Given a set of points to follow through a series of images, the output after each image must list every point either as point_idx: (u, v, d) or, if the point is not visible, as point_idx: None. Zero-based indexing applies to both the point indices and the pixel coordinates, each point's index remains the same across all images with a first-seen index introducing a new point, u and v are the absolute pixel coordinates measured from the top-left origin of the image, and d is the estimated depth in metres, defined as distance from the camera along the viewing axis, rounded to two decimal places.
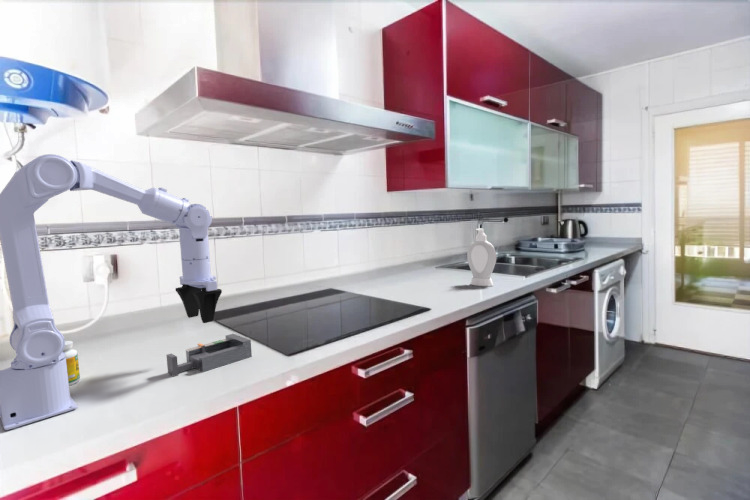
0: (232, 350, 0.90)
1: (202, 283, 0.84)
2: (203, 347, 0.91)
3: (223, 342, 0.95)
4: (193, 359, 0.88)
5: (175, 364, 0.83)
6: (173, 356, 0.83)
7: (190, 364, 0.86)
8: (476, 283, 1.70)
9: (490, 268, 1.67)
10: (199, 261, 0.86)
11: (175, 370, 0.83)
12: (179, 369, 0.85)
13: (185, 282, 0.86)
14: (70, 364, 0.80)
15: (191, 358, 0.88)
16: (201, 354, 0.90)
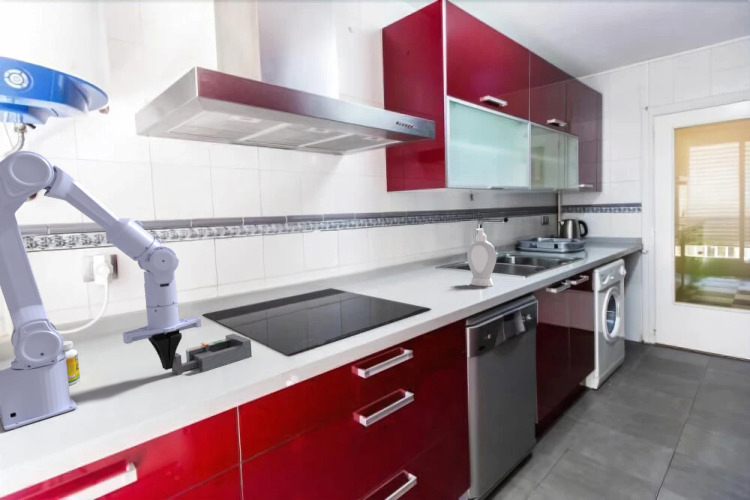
0: (232, 350, 0.90)
1: None
2: (207, 346, 0.91)
3: (223, 342, 0.95)
4: (197, 358, 0.88)
5: (179, 363, 0.84)
6: (177, 355, 0.84)
7: (194, 363, 0.87)
8: (476, 283, 1.70)
9: (490, 268, 1.67)
10: (146, 308, 0.80)
11: (179, 369, 0.84)
12: (183, 368, 0.85)
13: None
14: (70, 364, 0.80)
15: (195, 357, 0.89)
16: (205, 353, 0.90)
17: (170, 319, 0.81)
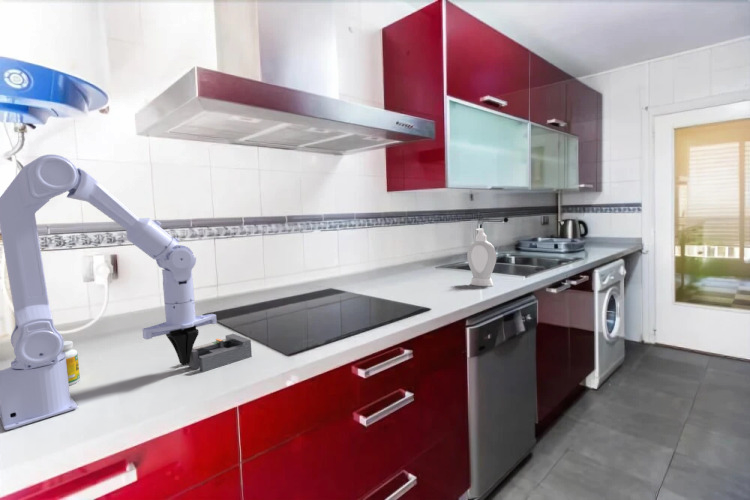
0: (232, 350, 0.90)
1: None
2: (221, 342, 0.94)
3: (223, 342, 0.95)
4: None
5: (196, 358, 0.86)
6: (194, 350, 0.87)
7: None
8: (476, 283, 1.70)
9: (490, 268, 1.67)
10: None
11: (196, 364, 0.86)
12: None
13: None
14: (70, 364, 0.80)
15: None
16: (219, 349, 0.93)
17: (188, 316, 0.83)
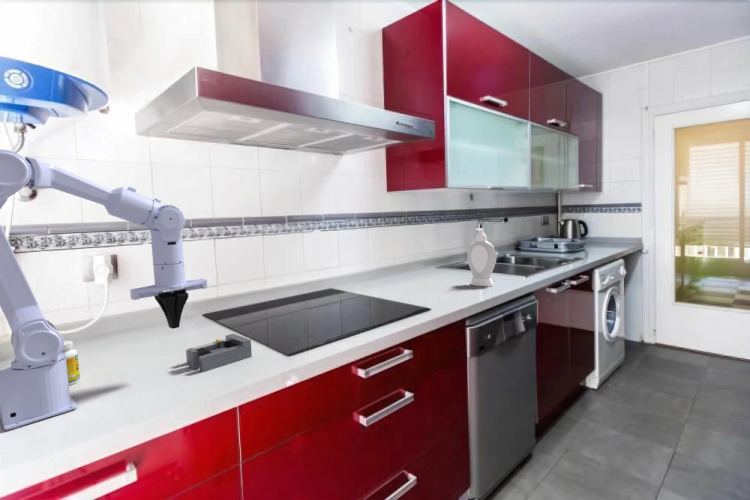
0: (232, 350, 0.90)
1: None
2: (221, 342, 0.94)
3: (223, 342, 0.95)
4: None
5: (196, 358, 0.86)
6: (194, 350, 0.87)
7: None
8: (476, 283, 1.70)
9: (490, 268, 1.67)
10: (153, 266, 0.81)
11: (196, 364, 0.86)
12: None
13: None
14: (70, 364, 0.80)
15: None
16: (219, 349, 0.93)
17: (177, 278, 0.82)
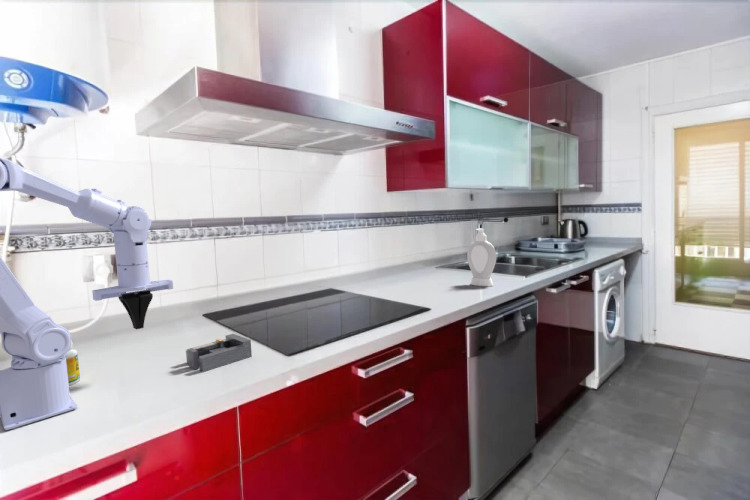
0: (232, 350, 0.90)
1: None
2: (221, 342, 0.94)
3: (223, 342, 0.95)
4: None
5: (196, 358, 0.86)
6: (194, 350, 0.87)
7: None
8: (476, 283, 1.70)
9: (490, 268, 1.67)
10: None
11: (196, 364, 0.86)
12: None
13: None
14: (70, 364, 0.80)
15: None
16: (219, 349, 0.93)
17: (140, 279, 0.82)
